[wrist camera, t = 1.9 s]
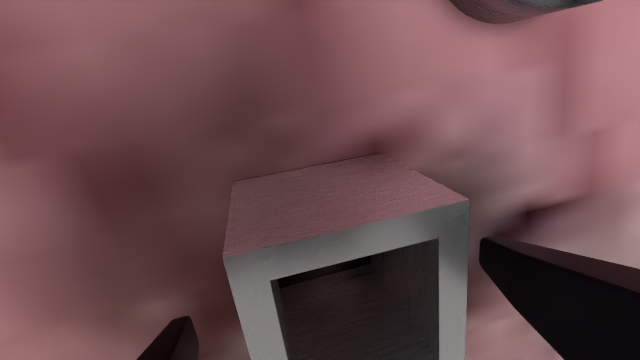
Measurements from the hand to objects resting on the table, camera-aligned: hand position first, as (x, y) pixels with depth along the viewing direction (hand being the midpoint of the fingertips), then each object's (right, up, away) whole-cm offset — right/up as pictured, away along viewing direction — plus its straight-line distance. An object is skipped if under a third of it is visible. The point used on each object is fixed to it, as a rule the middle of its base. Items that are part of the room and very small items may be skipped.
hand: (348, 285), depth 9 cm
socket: (-1, +1, +3) cm, 3 cm away
